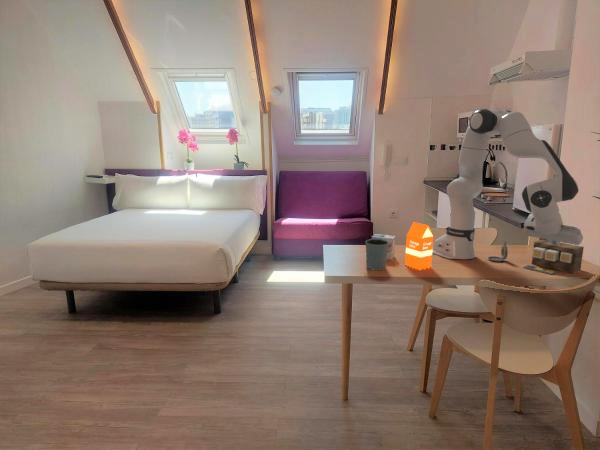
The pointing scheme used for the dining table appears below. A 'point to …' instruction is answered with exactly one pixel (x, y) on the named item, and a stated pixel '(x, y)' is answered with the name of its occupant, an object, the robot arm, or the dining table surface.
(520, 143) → the robot arm
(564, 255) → the button right
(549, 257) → the button middle
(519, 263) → the dining table surface
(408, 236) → the orange juice
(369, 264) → the grey green cup
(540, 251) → the button left
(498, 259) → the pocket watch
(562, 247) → the console
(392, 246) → the light bulb box
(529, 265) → the pattern tile
